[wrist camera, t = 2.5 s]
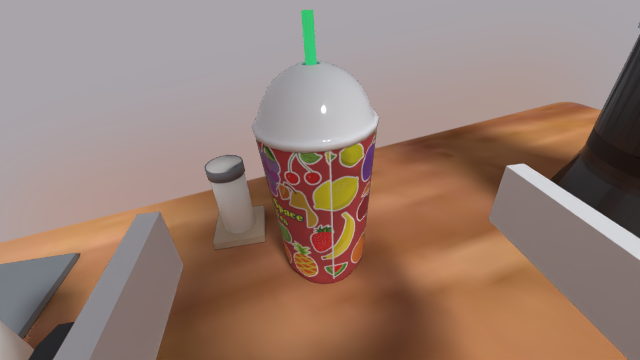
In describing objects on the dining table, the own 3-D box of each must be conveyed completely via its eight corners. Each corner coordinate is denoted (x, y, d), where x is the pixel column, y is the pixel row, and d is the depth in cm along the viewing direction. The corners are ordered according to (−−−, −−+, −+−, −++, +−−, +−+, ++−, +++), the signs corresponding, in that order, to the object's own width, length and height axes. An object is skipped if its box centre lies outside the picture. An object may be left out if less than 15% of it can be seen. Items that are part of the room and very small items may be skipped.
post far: (265, 210, 34) (252, 148, 29) (265, 241, 30) (250, 174, 25) (220, 217, 33) (200, 154, 29) (214, 249, 29) (190, 182, 25)
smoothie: (271, 242, 29) (223, 13, 18) (347, 219, 32) (344, 2, 21) (295, 314, 23) (241, 23, 12) (389, 278, 25) (417, 5, 14)
